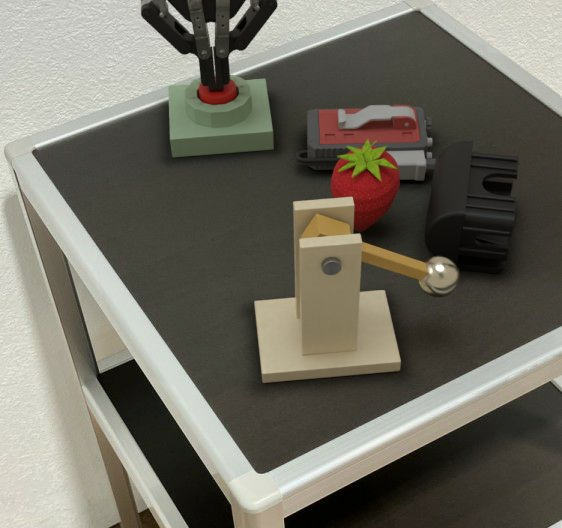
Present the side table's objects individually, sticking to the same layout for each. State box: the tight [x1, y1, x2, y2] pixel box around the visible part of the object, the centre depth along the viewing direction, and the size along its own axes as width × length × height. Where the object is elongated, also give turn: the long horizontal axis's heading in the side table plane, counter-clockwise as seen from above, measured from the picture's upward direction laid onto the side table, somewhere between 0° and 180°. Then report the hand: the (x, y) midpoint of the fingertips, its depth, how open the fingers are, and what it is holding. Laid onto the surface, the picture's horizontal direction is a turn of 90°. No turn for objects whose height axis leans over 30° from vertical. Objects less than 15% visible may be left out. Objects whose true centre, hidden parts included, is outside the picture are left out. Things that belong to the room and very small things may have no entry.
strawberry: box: [329, 139, 401, 233], centre depth 84 cm, size 6×8×10 cm
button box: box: [167, 74, 275, 158], centre depth 96 cm, size 10×9×4 cm
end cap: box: [423, 139, 519, 274], centre depth 84 cm, size 10×7×7 cm
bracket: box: [254, 197, 402, 384], centre depth 74 cm, size 11×8×13 cm
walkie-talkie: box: [295, 104, 437, 182], centre depth 93 cm, size 9×4×20 cm
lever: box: [301, 213, 461, 298], centre depth 73 cm, size 13×3×3 cm, turn 96°
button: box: [199, 76, 237, 105], centre depth 95 cm, size 4×4×2 cm
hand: (216, 86), depth 94 cm, fingers closed
